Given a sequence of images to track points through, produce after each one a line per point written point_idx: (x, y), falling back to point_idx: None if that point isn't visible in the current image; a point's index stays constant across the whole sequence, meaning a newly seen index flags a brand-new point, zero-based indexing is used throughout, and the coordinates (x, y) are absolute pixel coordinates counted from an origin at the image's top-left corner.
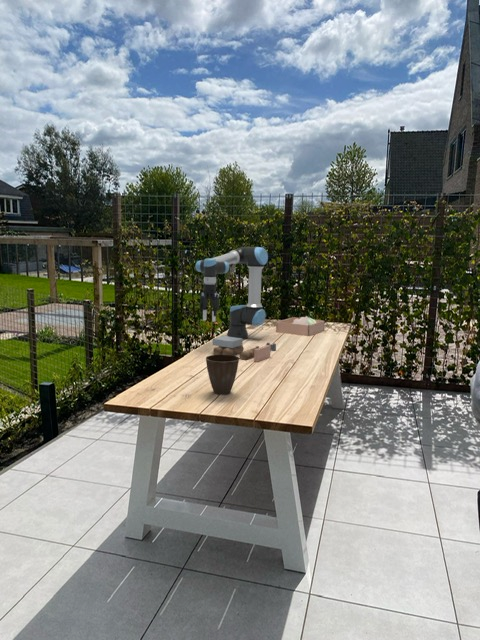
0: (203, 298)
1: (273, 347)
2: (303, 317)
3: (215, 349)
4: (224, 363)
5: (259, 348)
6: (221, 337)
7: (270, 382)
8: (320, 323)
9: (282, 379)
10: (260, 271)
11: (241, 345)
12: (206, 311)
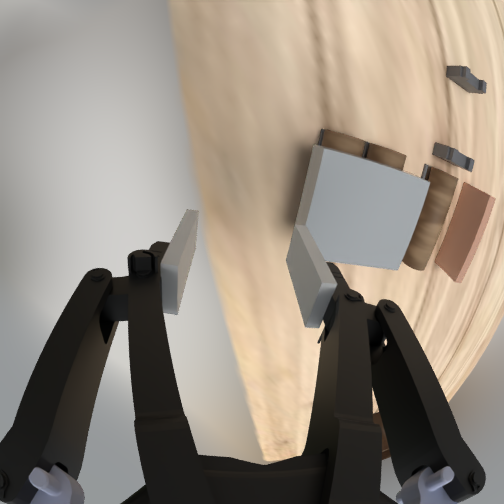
0: (64, 415)
1: (475, 91)
2: None
3: None
4: (387, 456)
5: (468, 260)
6: (330, 202)
7: (439, 364)
8: None
9: (459, 344)
10: None
11: (403, 159)
12: (182, 256)
